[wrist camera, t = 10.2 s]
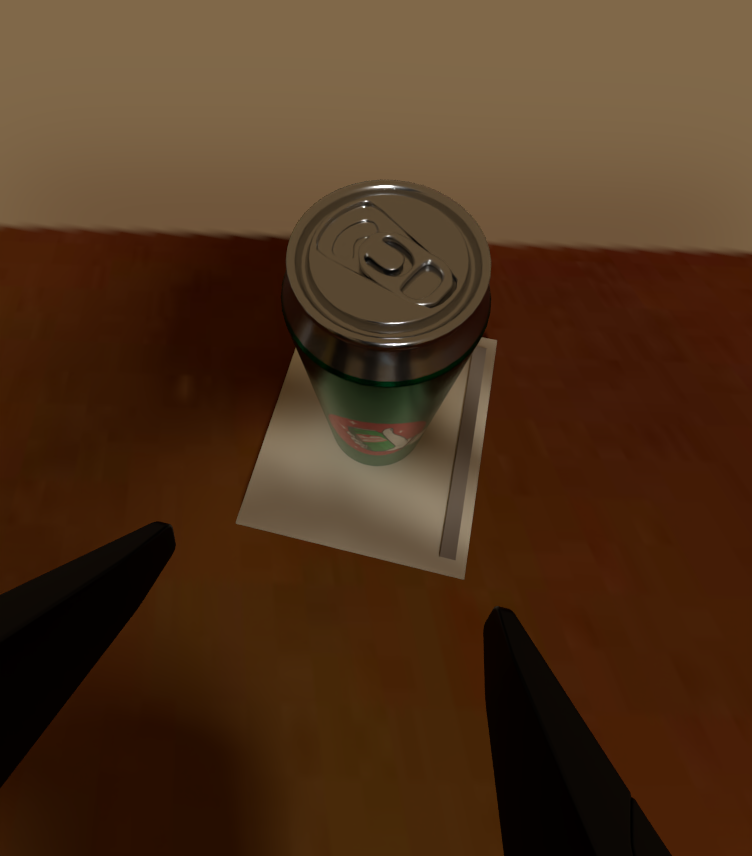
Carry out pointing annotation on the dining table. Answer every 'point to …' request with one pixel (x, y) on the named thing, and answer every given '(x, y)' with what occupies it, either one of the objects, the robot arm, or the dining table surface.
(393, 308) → the soda can
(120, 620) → the robot arm
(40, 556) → the dining table surface
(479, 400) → the white rectangular tray
